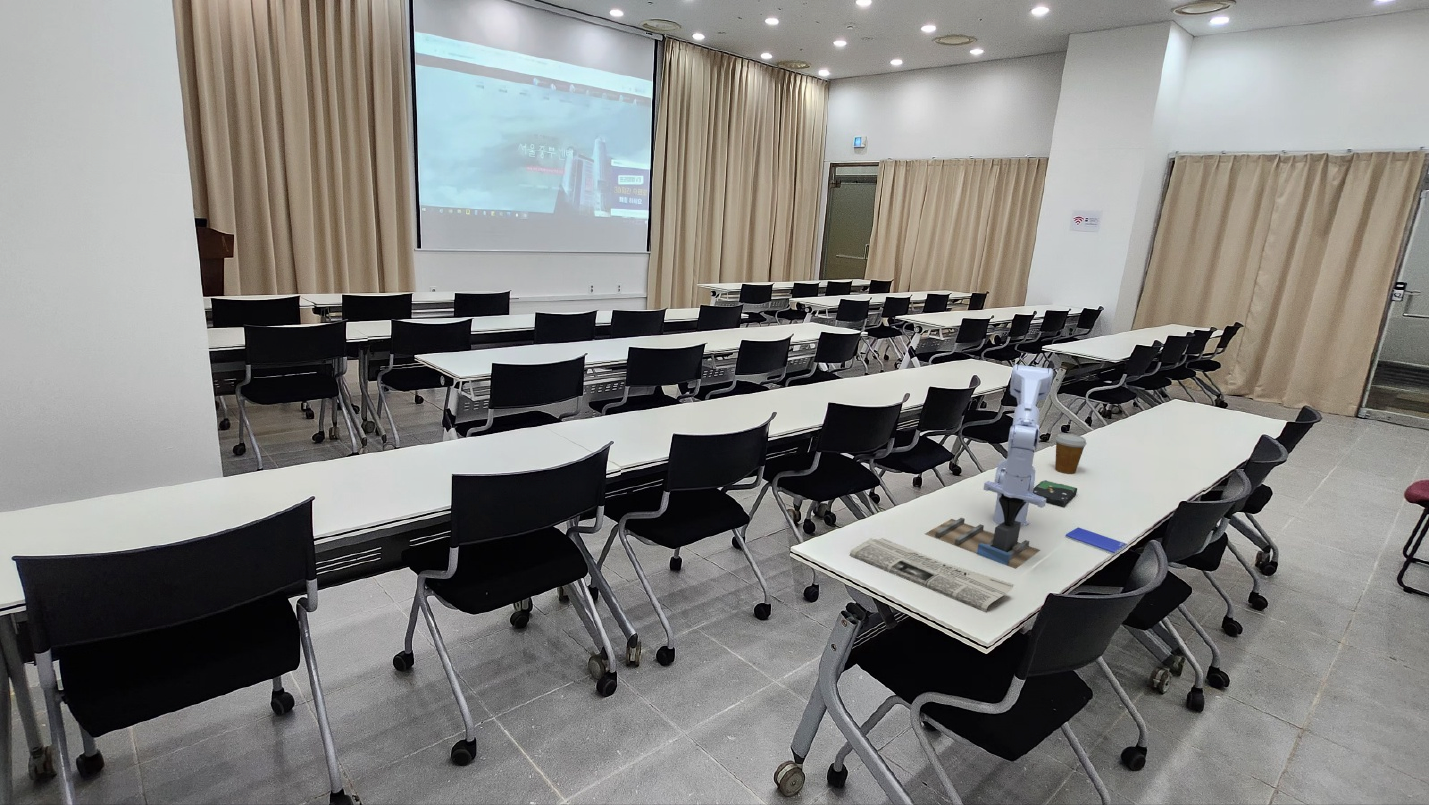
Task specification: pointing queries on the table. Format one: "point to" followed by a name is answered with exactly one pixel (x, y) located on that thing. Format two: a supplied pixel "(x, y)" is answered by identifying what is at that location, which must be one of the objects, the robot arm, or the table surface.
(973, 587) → the newspaper
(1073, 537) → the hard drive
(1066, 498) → the disk drive
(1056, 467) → the disposable coffee cup
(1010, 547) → the dark grey tall block
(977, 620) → the table surface
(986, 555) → the board
